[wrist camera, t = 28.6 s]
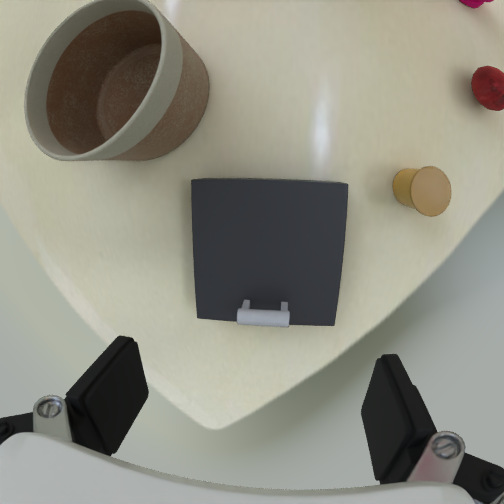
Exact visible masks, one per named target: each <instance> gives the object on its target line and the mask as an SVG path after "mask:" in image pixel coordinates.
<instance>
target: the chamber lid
mask: <svg viewBox="0 0 504 504" xmlns="http://www.w3.org/2000/svg"><path fill="white" fill-rule="evenodd" d="M191 191H192V233H193V258H194V277H195V294H196V308H197V318H200V319H211V320H223V321H236V322H237V324H240V325H255V326H273V327H289V325H315V326H334V324H335V318H336V311H337V304H338V296H339V289H340V280H341V272H342V263H343V253H344V242H345V231H346V217H347V202H348V184H346V183H332V182H315V181H294V180H263V179H193V180H191Z"/></svg>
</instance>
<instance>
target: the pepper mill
mask: <svg viewBox="0 0 504 504" xmlns="http://www.w3.org/2000/svg"><path fill="white" fill-rule="evenodd" d="M460 1H461V2H462V3H464V4H465V5H467V6H469V7H472V8H478V7H479V6H481V5H482V4H483V3H484V2H492V1H493V0H460Z"/></svg>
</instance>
